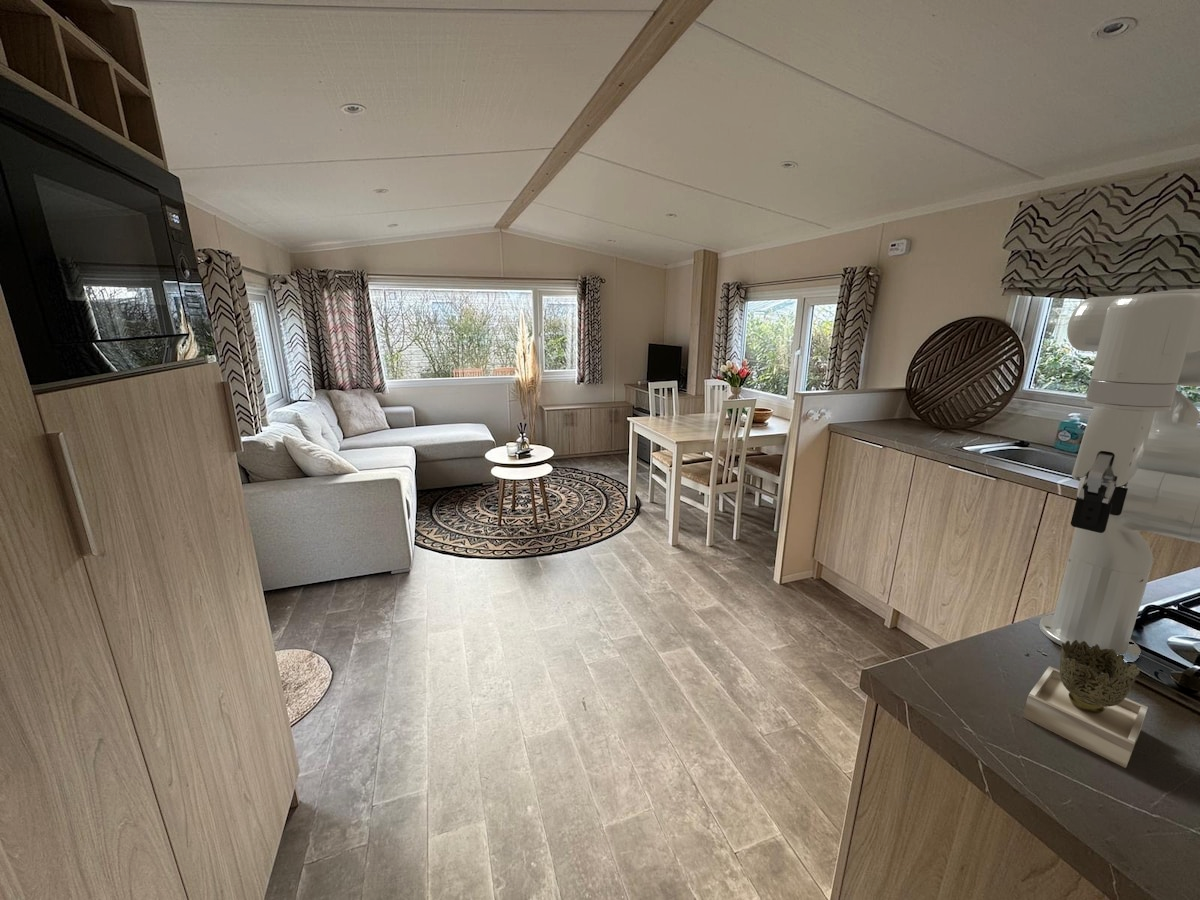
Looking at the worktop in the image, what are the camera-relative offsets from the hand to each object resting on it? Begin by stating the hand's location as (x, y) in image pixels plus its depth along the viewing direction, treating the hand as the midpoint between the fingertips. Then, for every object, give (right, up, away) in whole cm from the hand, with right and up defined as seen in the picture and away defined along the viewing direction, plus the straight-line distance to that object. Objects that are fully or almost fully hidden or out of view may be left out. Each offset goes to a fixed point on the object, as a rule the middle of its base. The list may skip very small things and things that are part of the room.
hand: (1095, 520), depth 66 cm
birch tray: (0, -29, +2) cm, 29 cm away
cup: (0, -26, +2) cm, 26 cm away
